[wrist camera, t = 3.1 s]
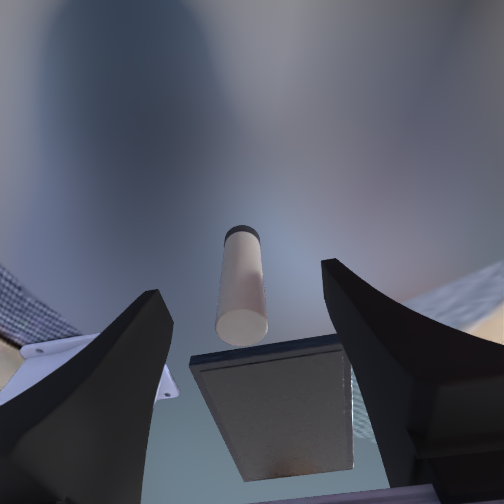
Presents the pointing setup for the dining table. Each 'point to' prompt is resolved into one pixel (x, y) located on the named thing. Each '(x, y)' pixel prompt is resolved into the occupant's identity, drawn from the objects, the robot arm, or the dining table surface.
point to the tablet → (281, 406)
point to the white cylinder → (241, 290)
